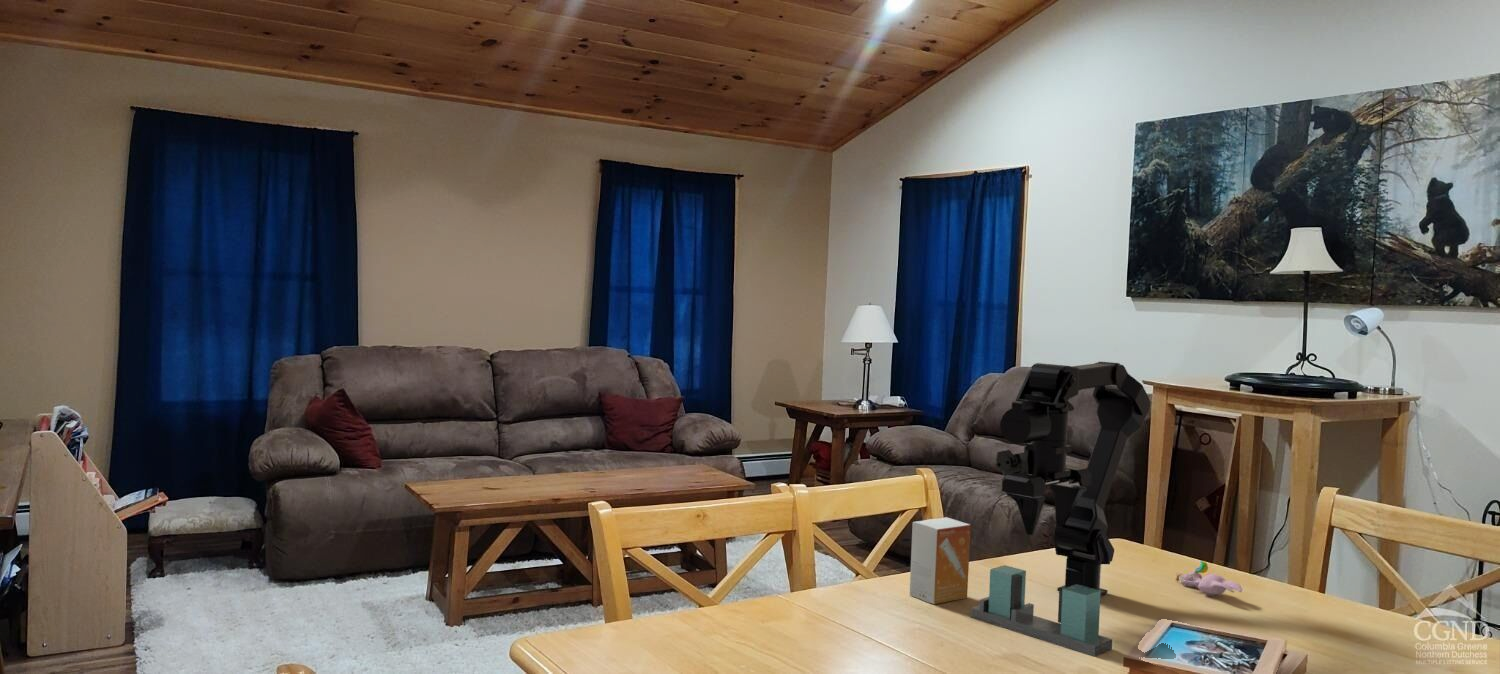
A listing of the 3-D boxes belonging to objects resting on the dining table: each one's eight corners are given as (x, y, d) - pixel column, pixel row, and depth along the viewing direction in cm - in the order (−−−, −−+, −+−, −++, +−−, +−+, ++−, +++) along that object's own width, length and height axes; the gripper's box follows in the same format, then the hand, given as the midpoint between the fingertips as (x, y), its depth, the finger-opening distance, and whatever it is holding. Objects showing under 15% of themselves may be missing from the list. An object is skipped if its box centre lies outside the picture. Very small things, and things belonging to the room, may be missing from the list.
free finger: (1002, 607, 167) (1004, 565, 166) (1027, 614, 163) (1029, 571, 163) (988, 612, 164) (990, 569, 164) (1013, 619, 161) (1014, 575, 160)
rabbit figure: (1168, 590, 189) (1222, 602, 175) (1166, 558, 190) (1220, 567, 175) (1197, 589, 191) (1253, 601, 176) (1196, 556, 191) (1251, 565, 177)
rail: (988, 611, 169) (990, 560, 169) (1112, 649, 153) (1114, 593, 153) (970, 617, 166) (972, 565, 166) (1094, 656, 150) (1097, 599, 149)
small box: (934, 605, 172) (937, 529, 171) (908, 595, 177) (911, 521, 176) (968, 598, 176) (971, 523, 175) (942, 588, 181) (945, 516, 181)
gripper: (1038, 428, 183) (1034, 514, 184) (975, 436, 171) (972, 528, 172) (1094, 436, 175) (1090, 526, 176) (1033, 446, 163) (1029, 542, 163)
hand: (1045, 530), depth 172 cm, fingers open, 9 cm apart
